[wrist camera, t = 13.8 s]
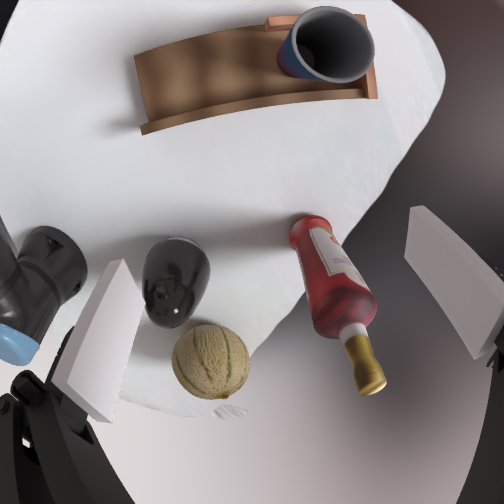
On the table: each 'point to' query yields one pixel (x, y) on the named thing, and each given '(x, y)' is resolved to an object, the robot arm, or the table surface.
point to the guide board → (230, 76)
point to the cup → (327, 46)
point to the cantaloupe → (211, 362)
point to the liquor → (337, 298)
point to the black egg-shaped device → (174, 281)
